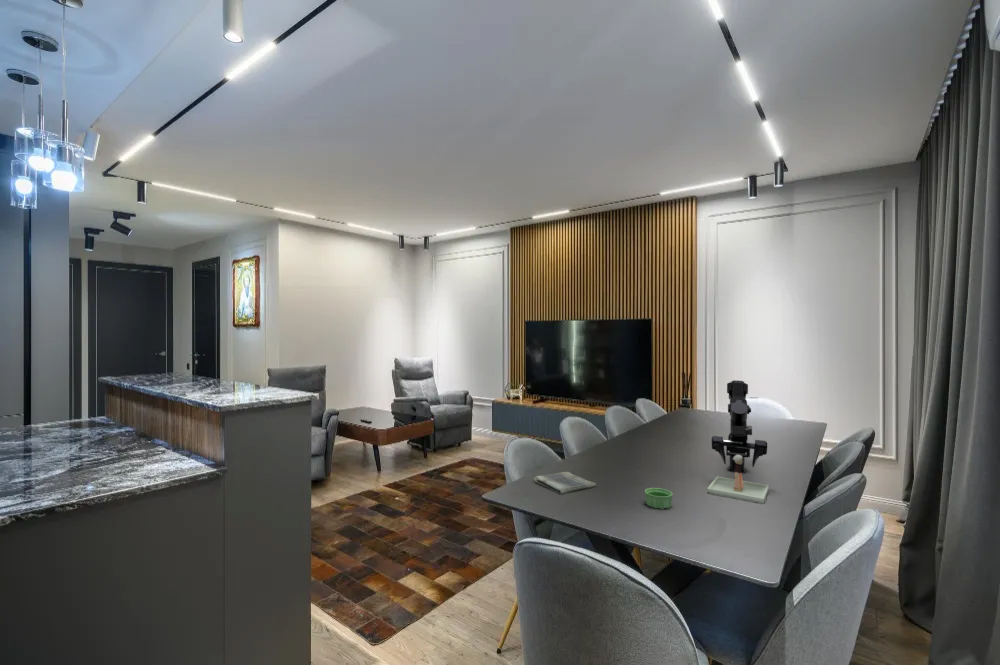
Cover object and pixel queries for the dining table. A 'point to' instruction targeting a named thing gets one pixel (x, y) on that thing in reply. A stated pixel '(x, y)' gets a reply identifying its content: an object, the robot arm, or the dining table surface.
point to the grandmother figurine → (738, 473)
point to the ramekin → (658, 498)
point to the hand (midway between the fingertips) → (738, 464)
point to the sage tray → (748, 493)
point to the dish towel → (563, 482)
